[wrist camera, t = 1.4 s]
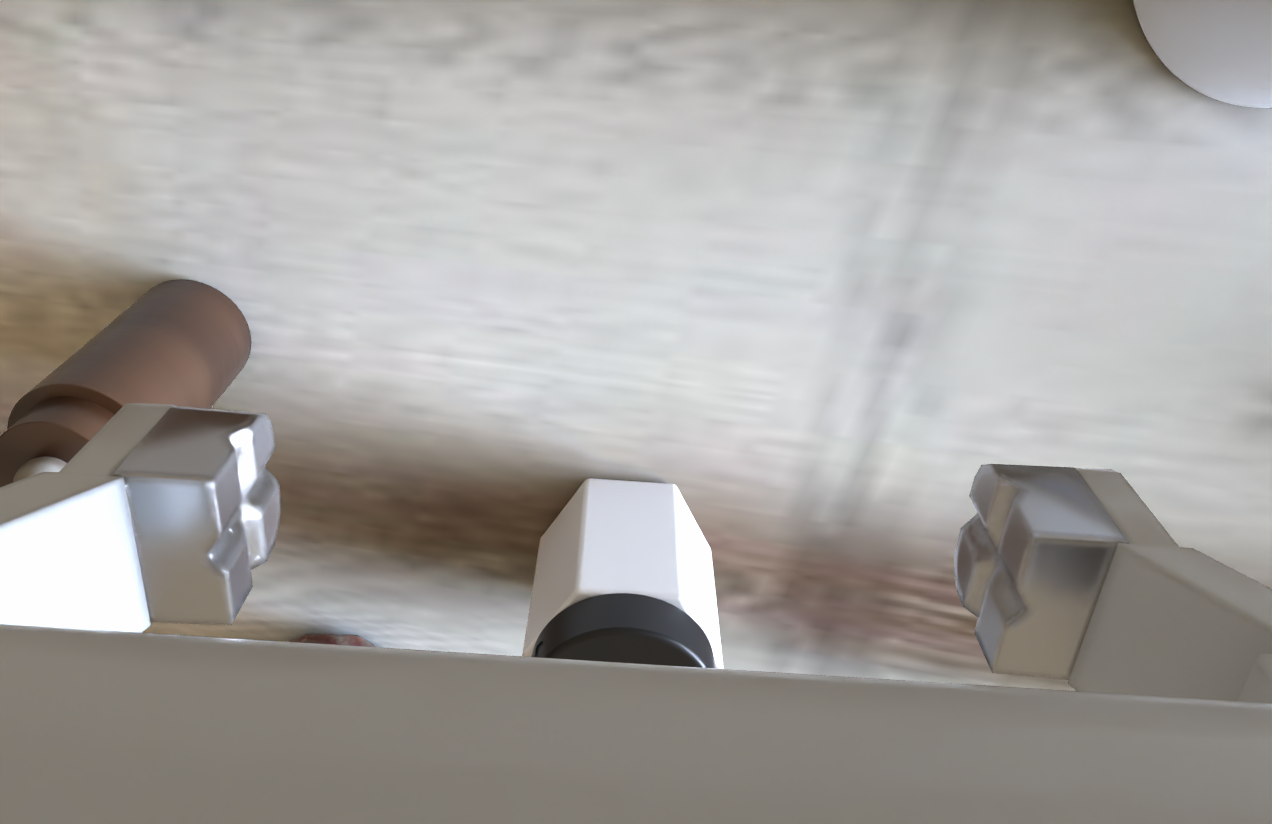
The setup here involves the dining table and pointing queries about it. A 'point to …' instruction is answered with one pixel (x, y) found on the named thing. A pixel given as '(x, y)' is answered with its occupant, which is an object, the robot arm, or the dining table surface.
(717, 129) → the dining table surface
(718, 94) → the dining table surface
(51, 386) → the pepper mill
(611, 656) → the jar
